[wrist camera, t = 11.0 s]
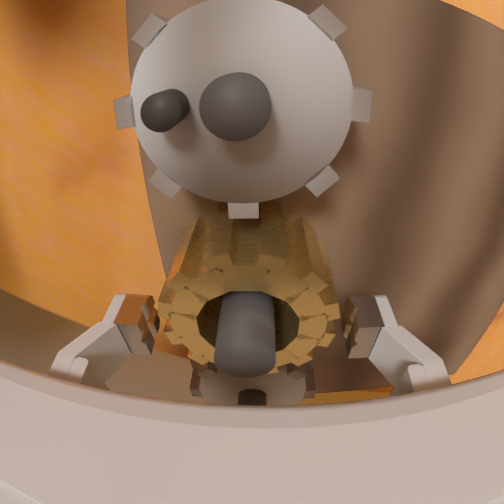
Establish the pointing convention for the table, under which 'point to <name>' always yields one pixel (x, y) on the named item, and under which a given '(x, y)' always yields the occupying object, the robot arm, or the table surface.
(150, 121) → the gear board
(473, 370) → the table surface
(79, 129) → the table surface
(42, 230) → the table surface
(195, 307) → the brass gear
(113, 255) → the table surface
